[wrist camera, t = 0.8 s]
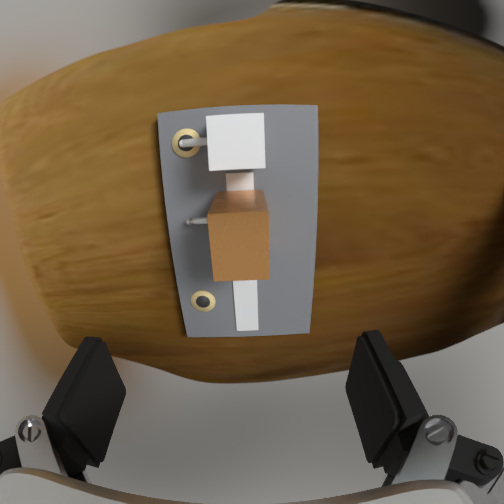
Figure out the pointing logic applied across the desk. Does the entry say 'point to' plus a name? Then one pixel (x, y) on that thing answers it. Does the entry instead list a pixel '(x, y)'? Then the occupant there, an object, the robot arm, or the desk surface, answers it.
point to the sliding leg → (238, 235)
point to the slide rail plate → (233, 179)
